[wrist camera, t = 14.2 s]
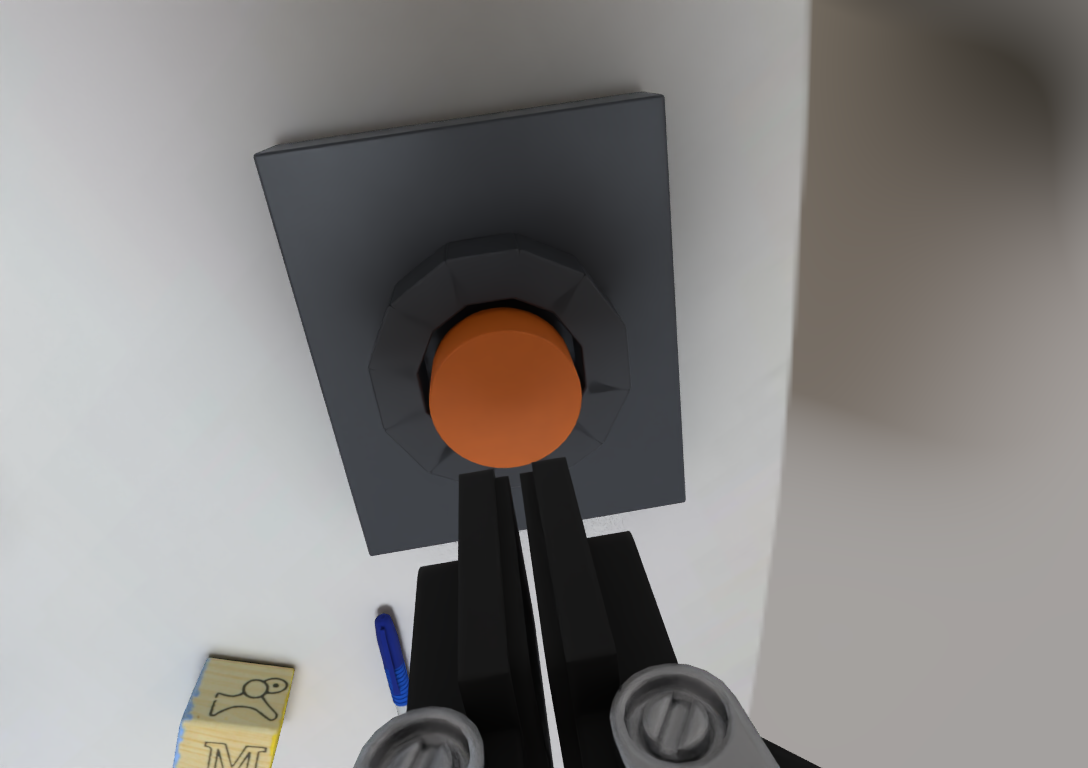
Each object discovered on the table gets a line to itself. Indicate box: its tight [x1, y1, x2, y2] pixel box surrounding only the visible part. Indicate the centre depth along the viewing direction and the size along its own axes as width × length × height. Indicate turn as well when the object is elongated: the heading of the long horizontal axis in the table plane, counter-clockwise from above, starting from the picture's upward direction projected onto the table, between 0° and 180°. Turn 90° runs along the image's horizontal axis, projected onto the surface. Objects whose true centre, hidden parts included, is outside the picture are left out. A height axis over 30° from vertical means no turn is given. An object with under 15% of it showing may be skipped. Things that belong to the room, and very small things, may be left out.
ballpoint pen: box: [375, 613, 409, 715], centre depth 27 cm, size 10×1×1 cm, turn 7°
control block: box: [254, 92, 686, 556], centre depth 20 cm, size 12×10×4 cm
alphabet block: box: [173, 658, 295, 768], centre depth 25 cm, size 3×3×3 cm
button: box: [429, 307, 582, 468], centre depth 17 cm, size 4×4×2 cm
